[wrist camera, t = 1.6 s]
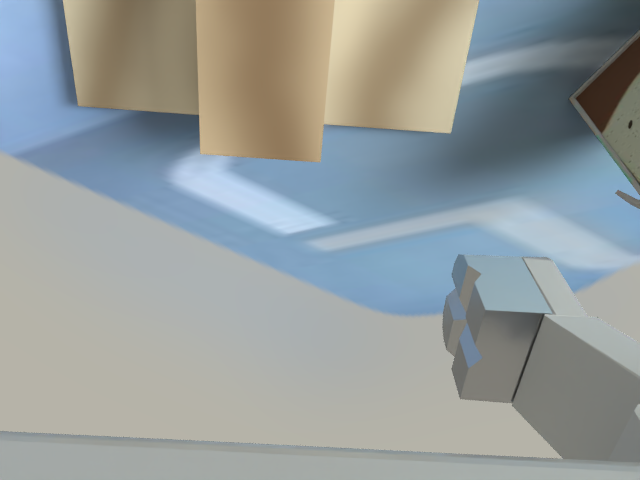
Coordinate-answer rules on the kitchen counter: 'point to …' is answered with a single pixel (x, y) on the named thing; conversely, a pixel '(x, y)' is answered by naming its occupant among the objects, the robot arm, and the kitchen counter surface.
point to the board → (344, 64)
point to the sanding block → (263, 77)
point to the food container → (616, 110)
